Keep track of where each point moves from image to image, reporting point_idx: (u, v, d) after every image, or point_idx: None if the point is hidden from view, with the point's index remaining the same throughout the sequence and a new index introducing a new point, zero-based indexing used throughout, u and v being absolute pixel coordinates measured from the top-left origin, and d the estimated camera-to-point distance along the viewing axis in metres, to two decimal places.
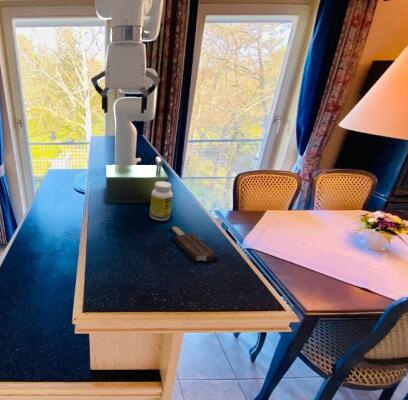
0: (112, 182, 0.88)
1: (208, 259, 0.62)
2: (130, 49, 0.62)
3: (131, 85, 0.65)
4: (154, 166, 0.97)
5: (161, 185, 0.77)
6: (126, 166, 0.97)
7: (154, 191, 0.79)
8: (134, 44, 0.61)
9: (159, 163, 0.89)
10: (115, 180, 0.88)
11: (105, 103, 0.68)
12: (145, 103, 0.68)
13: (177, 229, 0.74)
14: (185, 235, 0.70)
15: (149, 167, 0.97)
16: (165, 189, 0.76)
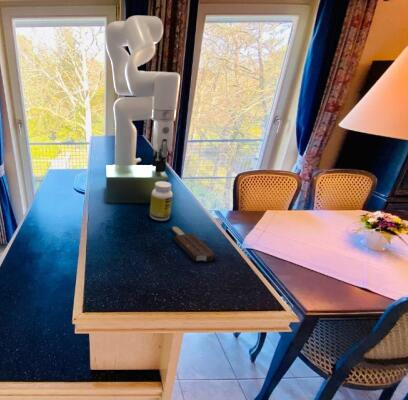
0: (112, 182, 0.88)
1: (208, 259, 0.62)
2: (155, 124, 0.85)
3: (155, 148, 0.88)
4: None
5: (161, 185, 0.77)
6: (126, 166, 0.97)
7: (154, 191, 0.79)
8: (156, 121, 0.84)
9: None
10: (115, 180, 0.88)
11: (153, 159, 0.94)
12: (158, 165, 0.88)
13: (177, 229, 0.74)
14: (185, 235, 0.70)
15: (149, 167, 0.97)
16: (165, 189, 0.76)
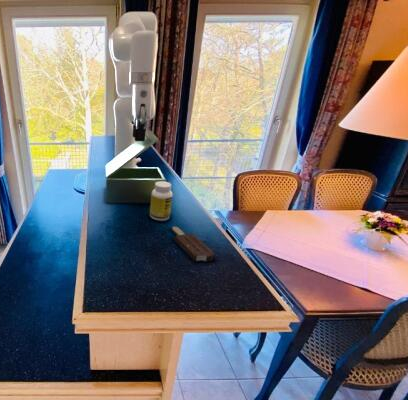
0: (112, 182, 0.88)
1: (208, 259, 0.62)
2: (133, 88, 0.80)
3: (134, 115, 0.83)
4: None
5: (161, 185, 0.77)
6: (121, 154, 0.95)
7: (154, 191, 0.79)
8: (134, 85, 0.79)
9: None
10: (115, 180, 0.88)
11: (133, 129, 0.90)
12: (137, 133, 0.84)
13: (177, 229, 0.74)
14: (185, 235, 0.70)
15: None
16: (165, 189, 0.76)
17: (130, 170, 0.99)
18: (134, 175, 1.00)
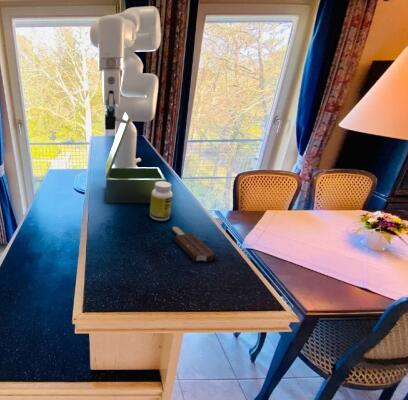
0: (112, 182, 0.88)
1: (208, 259, 0.62)
2: None
3: None
4: None
5: (161, 185, 0.77)
6: (112, 148, 0.94)
7: (154, 191, 0.79)
8: (103, 71, 0.78)
9: None
10: (115, 180, 0.88)
11: None
12: (107, 121, 0.83)
13: (177, 229, 0.74)
14: (185, 235, 0.70)
15: (120, 126, 0.91)
16: (165, 189, 0.76)
17: (130, 170, 0.99)
18: (134, 175, 1.00)
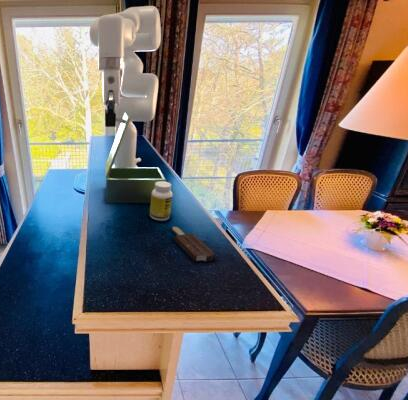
0: (112, 182, 0.88)
1: (208, 259, 0.62)
2: (102, 75, 0.79)
3: None
4: None
5: (161, 185, 0.77)
6: (112, 148, 0.94)
7: (154, 191, 0.79)
8: (102, 71, 0.78)
9: None
10: (115, 180, 0.88)
11: (105, 113, 0.90)
12: (107, 118, 0.80)
13: (177, 229, 0.74)
14: (185, 235, 0.70)
15: (120, 126, 0.91)
16: (165, 189, 0.76)
17: (130, 170, 0.99)
18: (134, 175, 1.00)
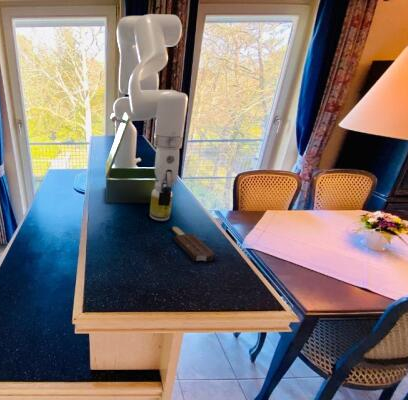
0: (112, 182, 0.88)
1: (208, 259, 0.62)
2: (158, 151, 0.73)
3: (157, 178, 0.76)
4: None
5: None
6: (112, 148, 0.94)
7: (154, 191, 0.79)
8: (159, 148, 0.72)
9: (113, 120, 0.83)
10: (115, 180, 0.88)
11: None
12: (162, 198, 0.76)
13: (177, 229, 0.74)
14: (185, 235, 0.70)
15: (120, 126, 0.91)
16: None
17: (130, 170, 0.99)
18: (134, 175, 1.00)
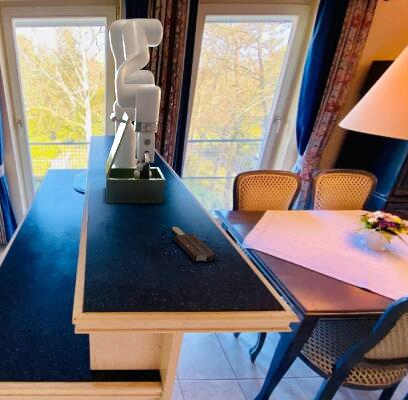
0: (112, 182, 0.88)
1: (208, 259, 0.62)
2: (138, 135, 0.87)
3: (138, 159, 0.89)
4: None
5: None
6: (112, 148, 0.94)
7: (136, 171, 0.93)
8: (139, 133, 0.85)
9: (113, 120, 0.83)
10: (115, 180, 0.88)
11: None
12: (142, 175, 0.88)
13: (177, 229, 0.74)
14: (185, 235, 0.70)
15: (120, 126, 0.91)
16: None
17: (130, 170, 0.99)
18: None
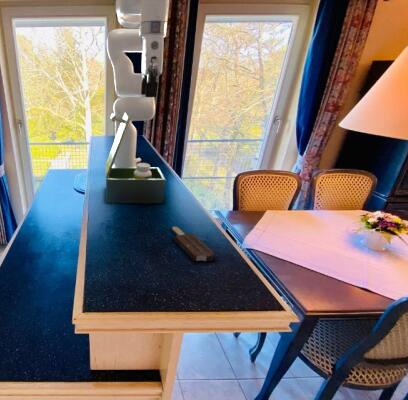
0: (112, 182, 0.88)
1: (208, 259, 0.62)
2: (144, 41, 0.75)
3: (143, 71, 0.78)
4: None
5: (141, 165, 0.91)
6: (112, 148, 0.94)
7: (136, 171, 0.93)
8: (145, 37, 0.74)
9: (113, 120, 0.83)
10: (115, 180, 0.88)
11: (141, 86, 0.86)
12: (149, 88, 0.76)
13: (177, 229, 0.74)
14: (185, 235, 0.70)
15: (120, 126, 0.91)
16: (145, 169, 0.90)
17: (130, 170, 0.99)
18: None
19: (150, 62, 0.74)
